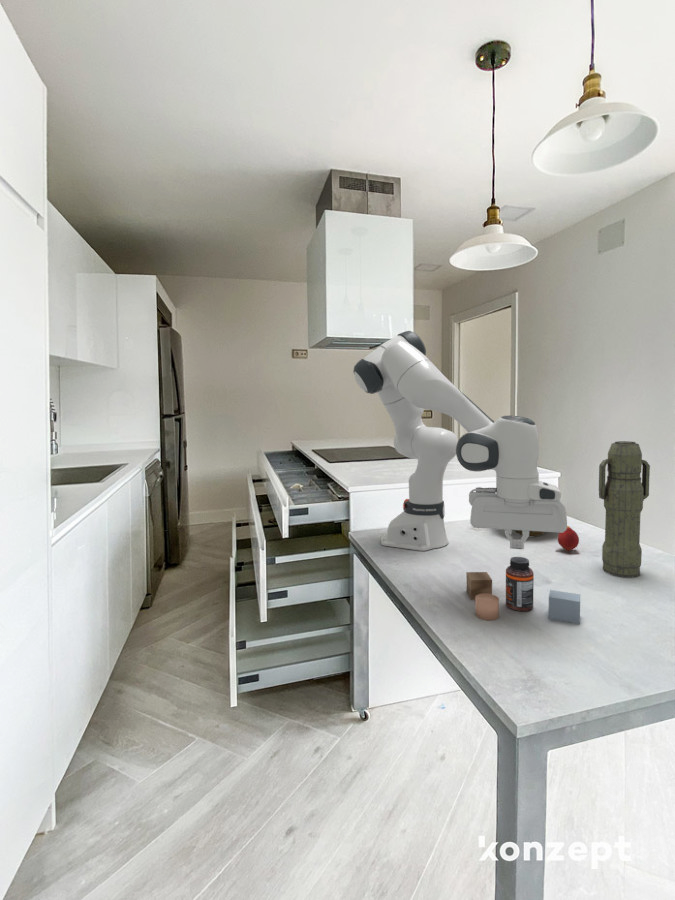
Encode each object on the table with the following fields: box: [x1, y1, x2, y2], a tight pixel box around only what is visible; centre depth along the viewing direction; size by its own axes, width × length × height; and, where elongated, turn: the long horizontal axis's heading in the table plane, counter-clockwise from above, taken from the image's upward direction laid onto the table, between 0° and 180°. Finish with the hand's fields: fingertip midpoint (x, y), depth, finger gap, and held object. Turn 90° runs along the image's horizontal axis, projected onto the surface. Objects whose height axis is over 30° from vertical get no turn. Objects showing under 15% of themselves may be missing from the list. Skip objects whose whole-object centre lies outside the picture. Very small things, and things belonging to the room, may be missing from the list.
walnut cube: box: [465, 571, 493, 601], centre depth 111 cm, size 5×5×5 cm
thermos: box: [598, 440, 651, 579], centre depth 120 cm, size 9×12×35 cm
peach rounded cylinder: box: [474, 593, 500, 621], centre depth 101 cm, size 5×5×4 cm
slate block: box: [548, 589, 581, 625], centre depth 99 cm, size 6×4×5 cm, turn 61°
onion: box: [557, 525, 580, 552], centre depth 139 cm, size 6×6×8 cm
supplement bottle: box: [505, 556, 535, 612], centre depth 104 cm, size 6×6×11 cm
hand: (516, 548), depth 103 cm, fingers closed
